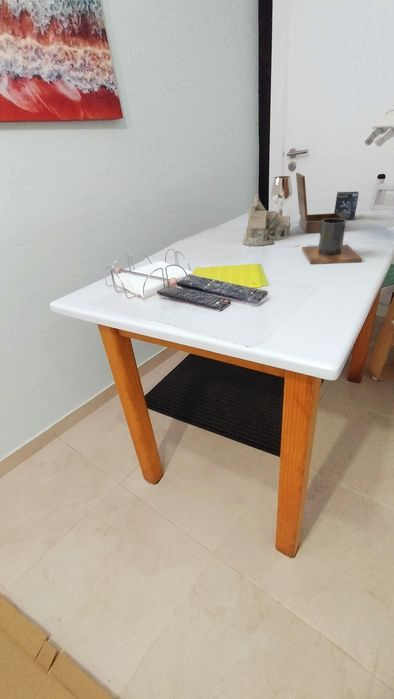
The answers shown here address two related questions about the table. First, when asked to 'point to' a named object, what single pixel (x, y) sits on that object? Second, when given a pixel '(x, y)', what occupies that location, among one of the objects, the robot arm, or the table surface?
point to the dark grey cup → (331, 236)
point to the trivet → (331, 256)
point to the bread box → (316, 222)
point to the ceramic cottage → (265, 225)
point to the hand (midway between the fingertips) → (371, 144)
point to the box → (346, 204)
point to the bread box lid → (302, 196)
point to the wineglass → (281, 190)
